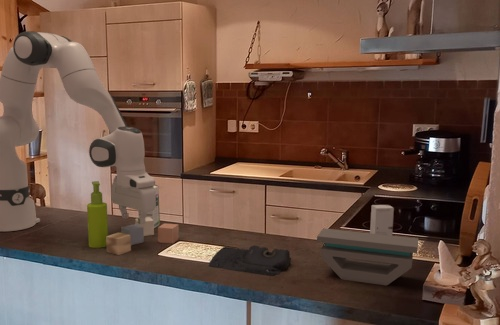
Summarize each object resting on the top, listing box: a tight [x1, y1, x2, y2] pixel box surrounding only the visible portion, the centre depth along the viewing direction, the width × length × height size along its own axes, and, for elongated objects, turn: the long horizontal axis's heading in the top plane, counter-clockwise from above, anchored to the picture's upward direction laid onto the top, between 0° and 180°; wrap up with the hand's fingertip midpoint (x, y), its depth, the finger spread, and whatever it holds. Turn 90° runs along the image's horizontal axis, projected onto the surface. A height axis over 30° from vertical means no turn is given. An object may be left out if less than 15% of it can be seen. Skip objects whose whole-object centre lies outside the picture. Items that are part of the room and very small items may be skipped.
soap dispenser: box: [86, 180, 109, 249], centre depth 155 cm, size 6×7×20 cm
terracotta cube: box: [157, 222, 180, 244], centre depth 161 cm, size 5×5×5 cm
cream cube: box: [134, 217, 155, 237], centre depth 168 cm, size 5×5×5 cm
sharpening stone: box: [316, 227, 419, 286], centre depth 131 cm, size 25×8×11 cm, turn 70°
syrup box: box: [137, 185, 161, 229], centre depth 176 cm, size 6×6×14 cm
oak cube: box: [106, 232, 132, 256], centre depth 150 cm, size 5×5×5 cm
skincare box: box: [369, 204, 395, 236], centre depth 159 cm, size 6×4×12 cm
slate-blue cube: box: [120, 223, 145, 246], centre depth 159 cm, size 5×5×5 cm
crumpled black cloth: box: [208, 245, 292, 277], centre depth 141 cm, size 15×22×5 cm
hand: (133, 221), depth 159 cm, fingers open, 8 cm apart
